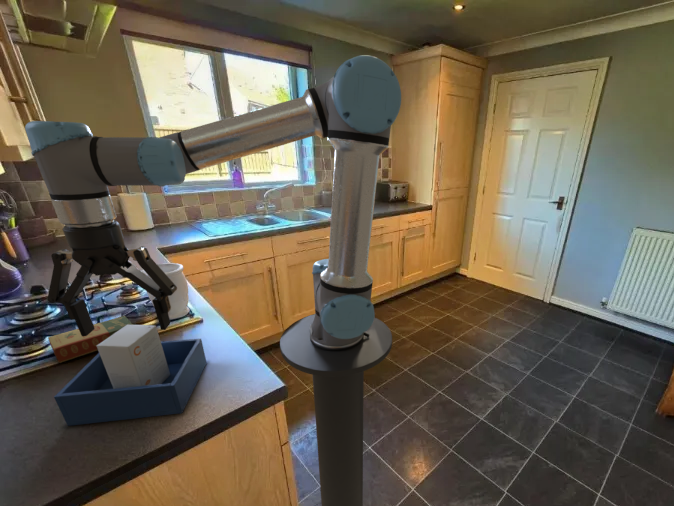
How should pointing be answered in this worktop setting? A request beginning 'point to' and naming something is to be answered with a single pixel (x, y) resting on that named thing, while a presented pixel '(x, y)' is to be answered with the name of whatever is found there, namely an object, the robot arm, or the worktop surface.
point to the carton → (84, 339)
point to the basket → (133, 389)
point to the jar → (181, 294)
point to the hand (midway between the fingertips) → (128, 329)
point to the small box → (134, 357)
